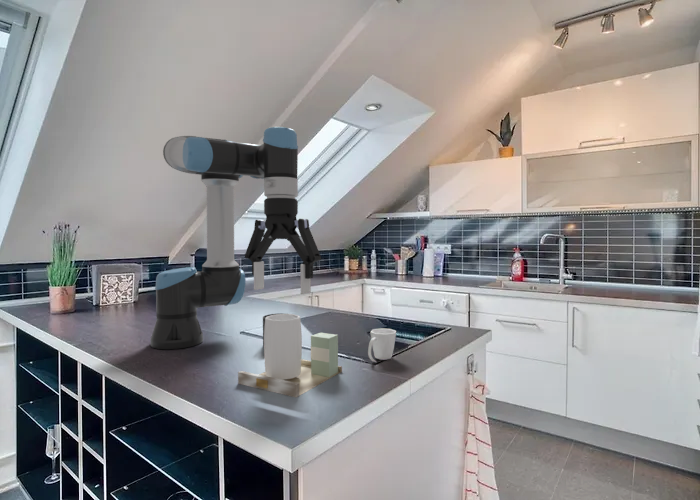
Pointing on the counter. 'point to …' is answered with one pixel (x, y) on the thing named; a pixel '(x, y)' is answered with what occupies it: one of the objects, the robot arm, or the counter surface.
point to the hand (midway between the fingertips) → (281, 291)
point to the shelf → (285, 381)
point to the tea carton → (324, 354)
